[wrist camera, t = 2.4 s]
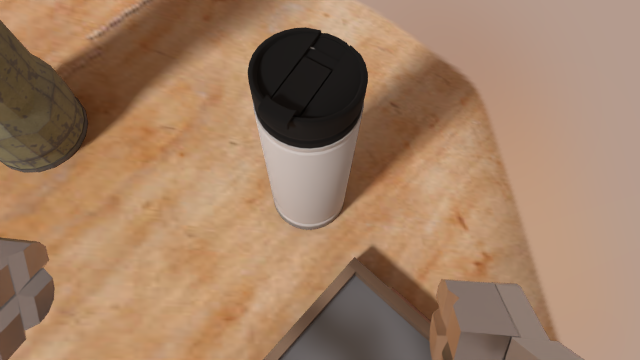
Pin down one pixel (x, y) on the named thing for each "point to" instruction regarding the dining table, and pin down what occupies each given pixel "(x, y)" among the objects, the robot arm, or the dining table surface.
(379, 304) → the square tray
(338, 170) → the travel mug
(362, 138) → the dining table surface
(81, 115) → the thermos
